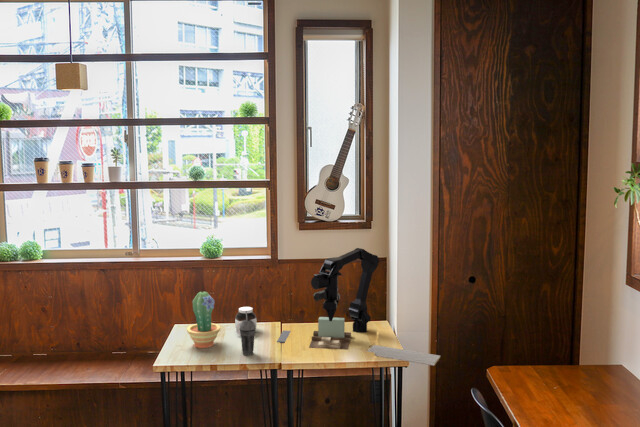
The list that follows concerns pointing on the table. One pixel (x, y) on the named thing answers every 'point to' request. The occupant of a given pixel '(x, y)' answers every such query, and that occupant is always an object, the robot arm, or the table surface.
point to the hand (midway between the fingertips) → (331, 318)
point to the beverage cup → (247, 336)
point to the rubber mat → (283, 336)
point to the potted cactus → (203, 321)
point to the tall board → (331, 327)
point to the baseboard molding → (404, 355)
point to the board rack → (343, 341)
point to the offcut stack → (329, 343)
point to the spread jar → (244, 317)
